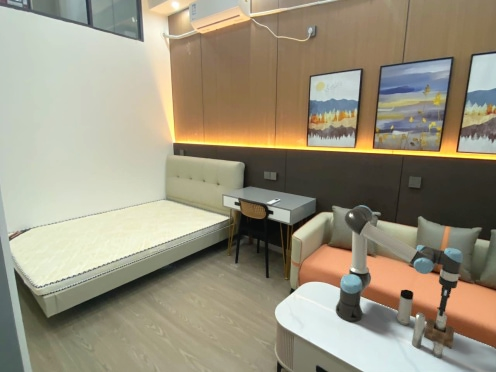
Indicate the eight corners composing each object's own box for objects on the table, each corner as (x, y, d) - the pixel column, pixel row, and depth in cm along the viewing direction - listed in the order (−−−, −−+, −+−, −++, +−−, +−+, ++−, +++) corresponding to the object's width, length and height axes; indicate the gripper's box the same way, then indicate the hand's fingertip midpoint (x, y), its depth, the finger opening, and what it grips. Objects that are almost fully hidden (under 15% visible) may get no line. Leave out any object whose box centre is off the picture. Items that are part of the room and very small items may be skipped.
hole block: (423, 337, 143) (425, 327, 142) (426, 326, 151) (428, 317, 149) (451, 348, 136) (453, 339, 134) (452, 337, 143) (454, 328, 142)
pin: (433, 337, 143) (437, 315, 140) (434, 333, 146) (438, 311, 143) (442, 341, 140) (446, 318, 137) (443, 337, 143) (447, 314, 140)
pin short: (431, 354, 132) (433, 344, 131) (432, 350, 135) (434, 340, 134) (441, 359, 129) (443, 349, 128) (442, 354, 132) (444, 344, 131)
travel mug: (403, 326, 151) (408, 295, 147) (394, 318, 157) (398, 288, 153) (412, 324, 153) (416, 293, 148) (403, 316, 159) (407, 287, 155)
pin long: (411, 345, 138) (415, 315, 134) (412, 340, 141) (417, 311, 137) (419, 349, 135) (424, 319, 131) (421, 344, 138) (426, 314, 134)
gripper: (455, 291, 124) (447, 330, 129) (459, 270, 142) (452, 305, 147) (436, 285, 129) (429, 322, 134) (442, 266, 147) (436, 299, 152)
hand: (441, 313), depth 140 cm, fingers open, 13 cm apart
